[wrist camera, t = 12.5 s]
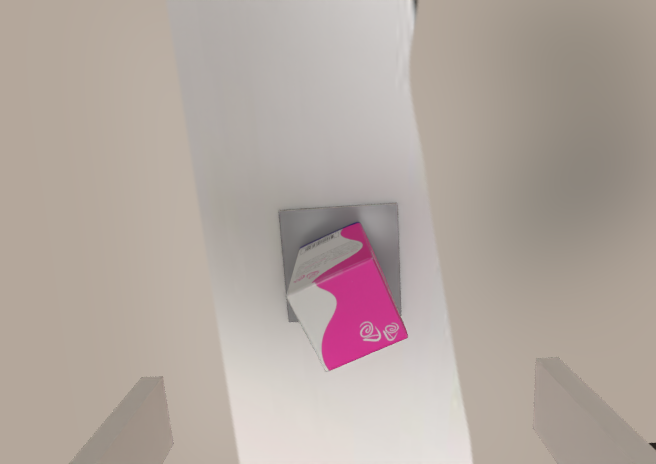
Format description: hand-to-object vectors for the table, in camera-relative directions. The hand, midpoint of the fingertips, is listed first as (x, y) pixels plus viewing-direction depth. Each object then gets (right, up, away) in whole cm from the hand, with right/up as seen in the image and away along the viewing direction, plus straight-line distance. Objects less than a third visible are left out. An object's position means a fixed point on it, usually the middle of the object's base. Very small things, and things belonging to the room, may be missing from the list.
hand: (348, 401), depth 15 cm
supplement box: (+1, +3, +21) cm, 22 cm away
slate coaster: (0, +3, +22) cm, 22 cm away
